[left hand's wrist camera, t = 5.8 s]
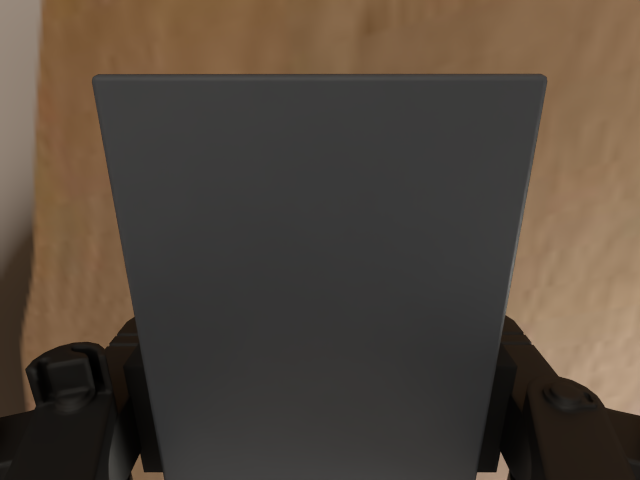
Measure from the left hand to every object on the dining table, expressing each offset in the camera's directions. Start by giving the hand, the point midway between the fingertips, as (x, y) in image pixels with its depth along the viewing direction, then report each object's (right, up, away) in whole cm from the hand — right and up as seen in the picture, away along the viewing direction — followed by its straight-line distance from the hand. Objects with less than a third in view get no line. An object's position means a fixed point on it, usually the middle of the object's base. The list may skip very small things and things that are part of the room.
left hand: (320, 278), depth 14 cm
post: (0, -32, +13) cm, 34 cm away
